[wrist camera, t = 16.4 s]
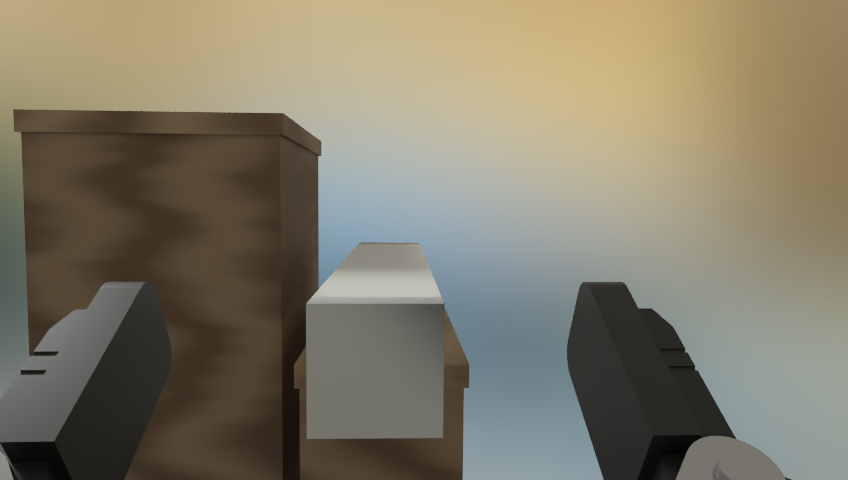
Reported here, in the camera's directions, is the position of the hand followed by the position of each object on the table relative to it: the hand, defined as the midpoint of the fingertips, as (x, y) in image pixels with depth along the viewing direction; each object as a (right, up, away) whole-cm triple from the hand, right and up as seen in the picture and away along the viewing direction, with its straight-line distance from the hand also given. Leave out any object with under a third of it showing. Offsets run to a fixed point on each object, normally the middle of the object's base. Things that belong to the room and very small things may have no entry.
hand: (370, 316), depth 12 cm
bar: (-1, -4, +18) cm, 19 cm away
